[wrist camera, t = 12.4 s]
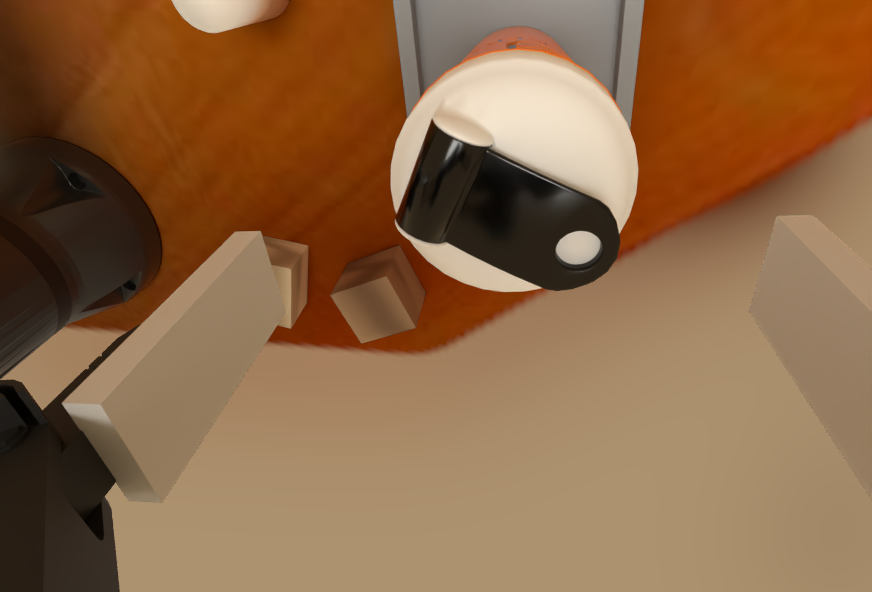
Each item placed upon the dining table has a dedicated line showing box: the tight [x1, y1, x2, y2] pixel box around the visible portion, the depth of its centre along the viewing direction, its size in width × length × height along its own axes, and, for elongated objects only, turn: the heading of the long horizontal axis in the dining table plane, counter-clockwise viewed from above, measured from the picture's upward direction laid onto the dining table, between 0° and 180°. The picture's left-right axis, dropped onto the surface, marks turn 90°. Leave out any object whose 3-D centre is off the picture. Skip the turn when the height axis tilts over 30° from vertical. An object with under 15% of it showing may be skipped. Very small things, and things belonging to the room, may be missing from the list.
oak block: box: [262, 236, 308, 328], centre depth 43 cm, size 4×6×4 cm, turn 170°
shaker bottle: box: [390, 26, 638, 292], centre depth 24 cm, size 9×9×20 cm
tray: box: [393, 0, 644, 130], centre depth 32 cm, size 14×14×2 cm
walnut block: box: [330, 245, 426, 344], centre depth 42 cm, size 5×5×5 cm
